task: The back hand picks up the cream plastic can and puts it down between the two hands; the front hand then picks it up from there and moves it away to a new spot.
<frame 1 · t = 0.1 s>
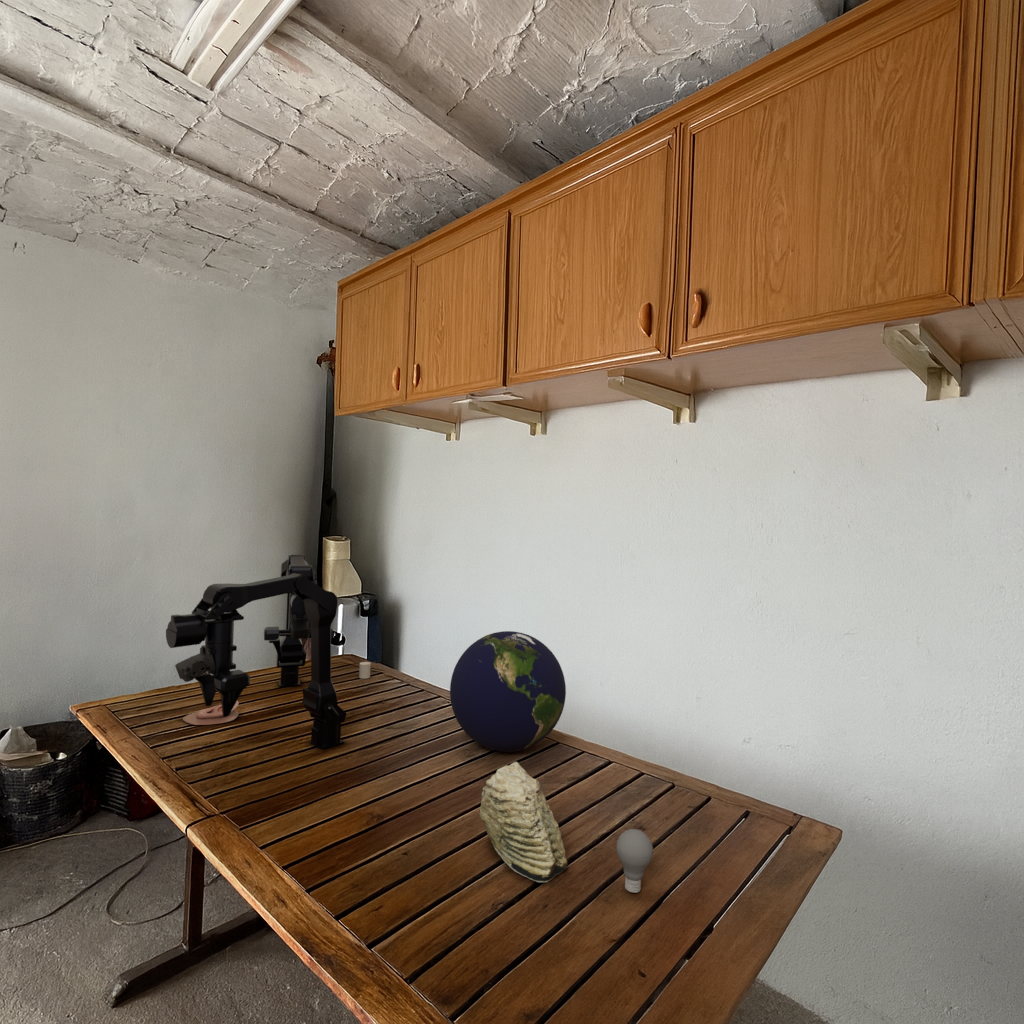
front hand: (216, 711, 141), 15 cm above the table, tool pointing down, fingers open, 9 cm apart
back hand: (297, 661, 184), 15 cm above the table, tool pointing down, fingers open, 9 cm apart
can: (364, 677, 222), on the table
anatomical model: (210, 719, 176), on the table
fossil: (519, 856, 115), on the table
globe: (505, 748, 164), on the table
light bulb: (632, 891, 106), on the table
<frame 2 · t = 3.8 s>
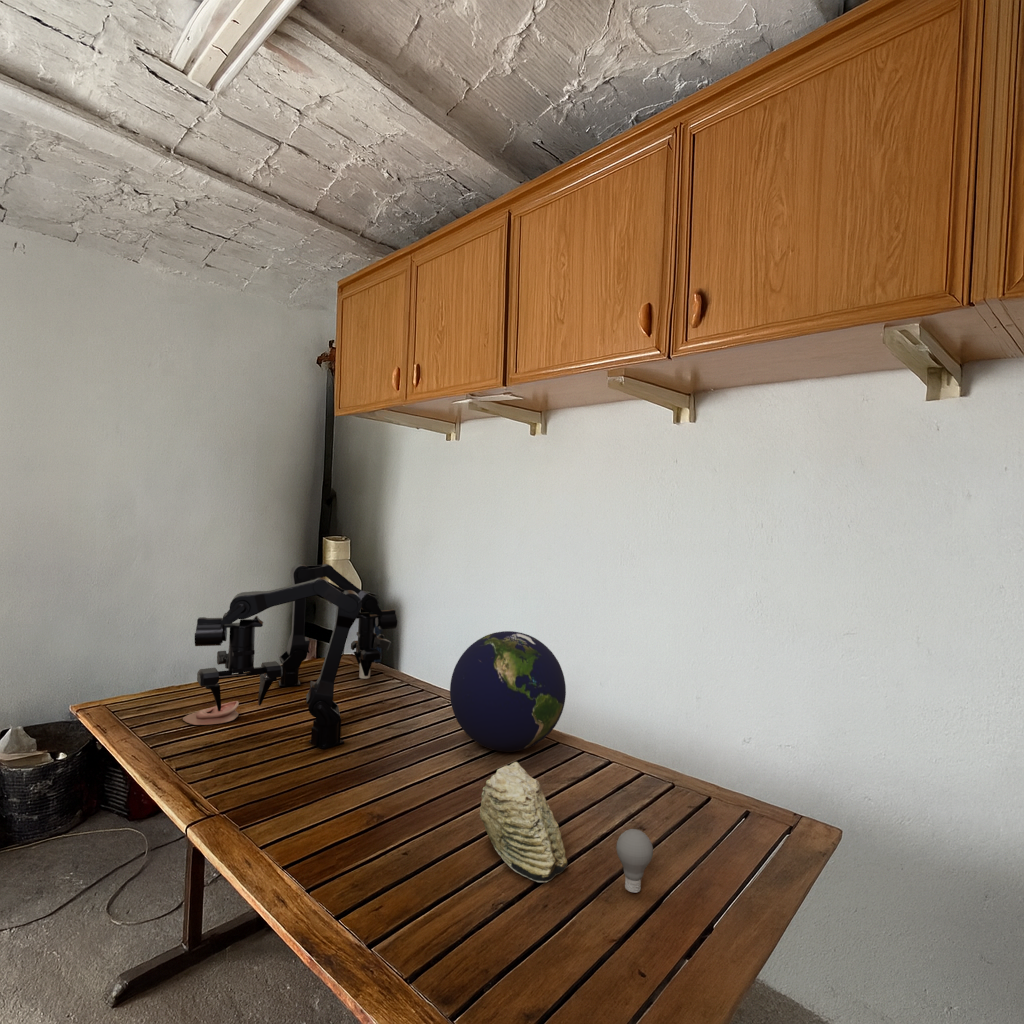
front hand: (239, 707, 155), 11 cm above the table, tool pointing down, fingers open, 9 cm apart
back hand: (364, 674, 222), 1 cm above the table, tool pointing down, fingers closed on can, 4 cm apart
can: (364, 677, 222), on the table, touching back hand
everything else where it was.
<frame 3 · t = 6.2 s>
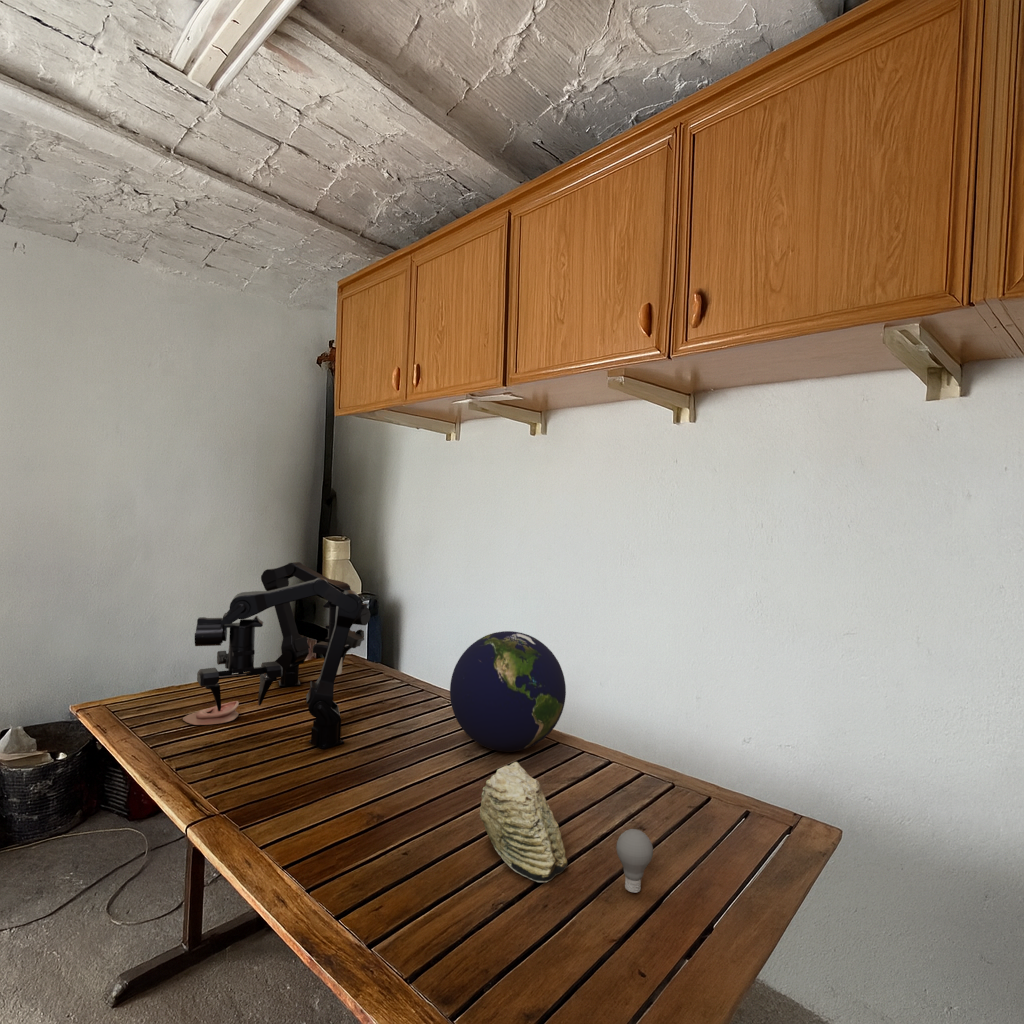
front hand: (239, 707, 155), 11 cm above the table, tool pointing down, fingers open, 9 cm apart
back hand: (335, 670, 205), 7 cm above the table, tool pointing down, fingers closed on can, 4 cm apart
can: (335, 673, 205), point 6 cm above the table, touching back hand
everything else where it was.
when the back hand's fingers open (2 cm above the table, at t = 8.7 s): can stays where it is, on the table.
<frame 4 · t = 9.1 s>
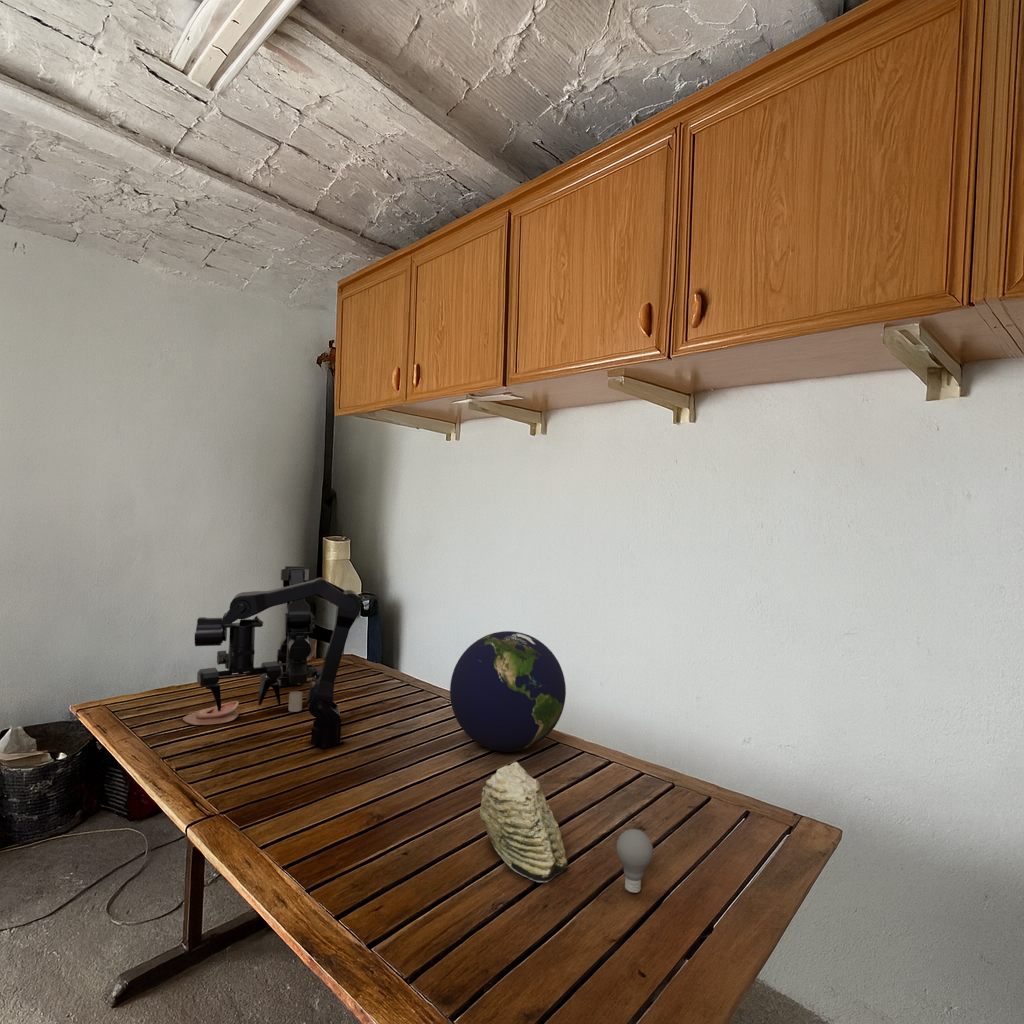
front hand: (239, 707, 155), 11 cm above the table, tool pointing down, fingers open, 9 cm apart
back hand: (295, 704, 186), 2 cm above the table, tool pointing down, fingers open, 8 cm apart
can: (295, 709, 186), on the table
everything else where it was.
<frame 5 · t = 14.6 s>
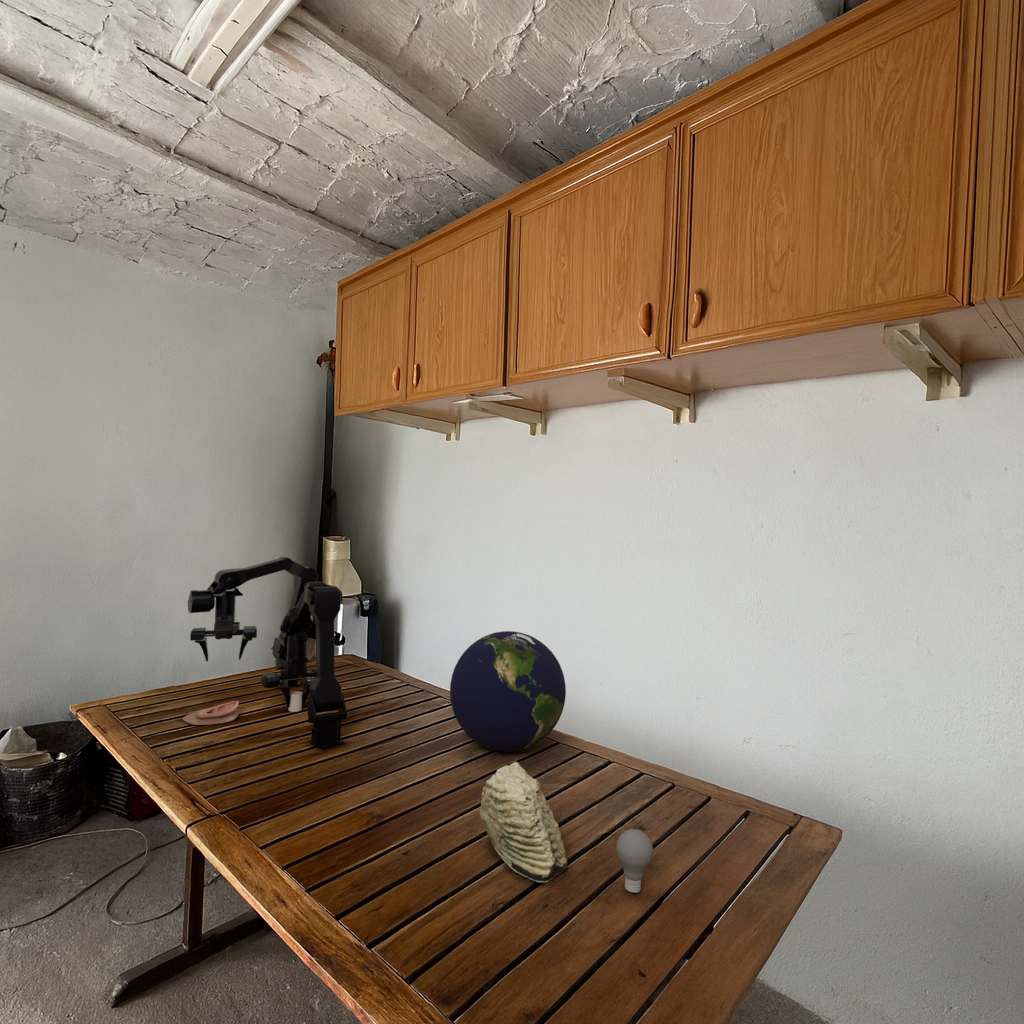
front hand: (295, 706, 186), 1 cm above the table, tool pointing down, fingers closed on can, 4 cm apart
back hand: (223, 660, 197), 10 cm above the table, tool pointing down, fingers open, 9 cm apart
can: (295, 709, 186), on the table, touching front hand
everything else where it was.
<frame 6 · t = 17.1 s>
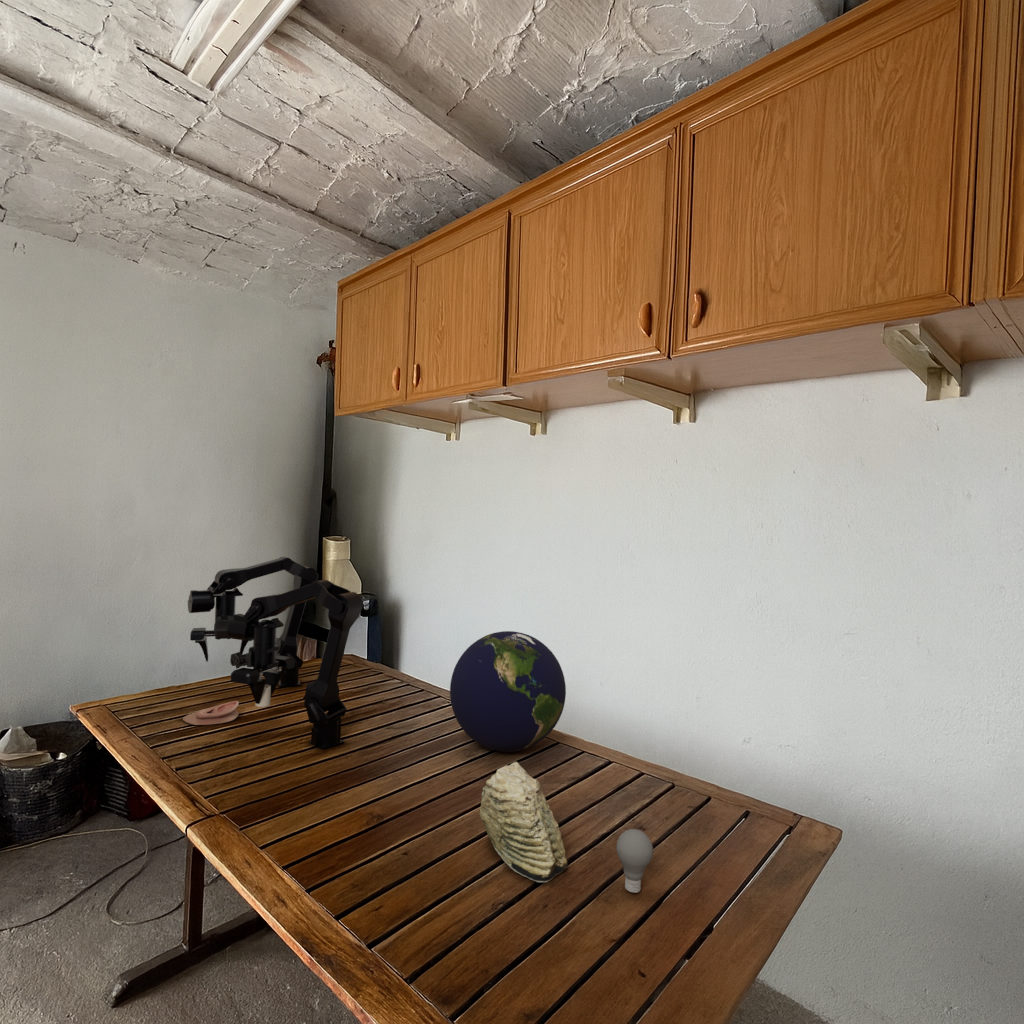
front hand: (263, 701, 169), 8 cm above the table, tool pointing down, fingers closed on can, 4 cm apart
back hand: (223, 660, 197), 10 cm above the table, tool pointing down, fingers open, 9 cm apart
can: (262, 704, 169), point 7 cm above the table, touching front hand
everything else where it was.
when the front hand's fingers open (2 cm above the table, at t = 19.7 s): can stays where it is, on the table.
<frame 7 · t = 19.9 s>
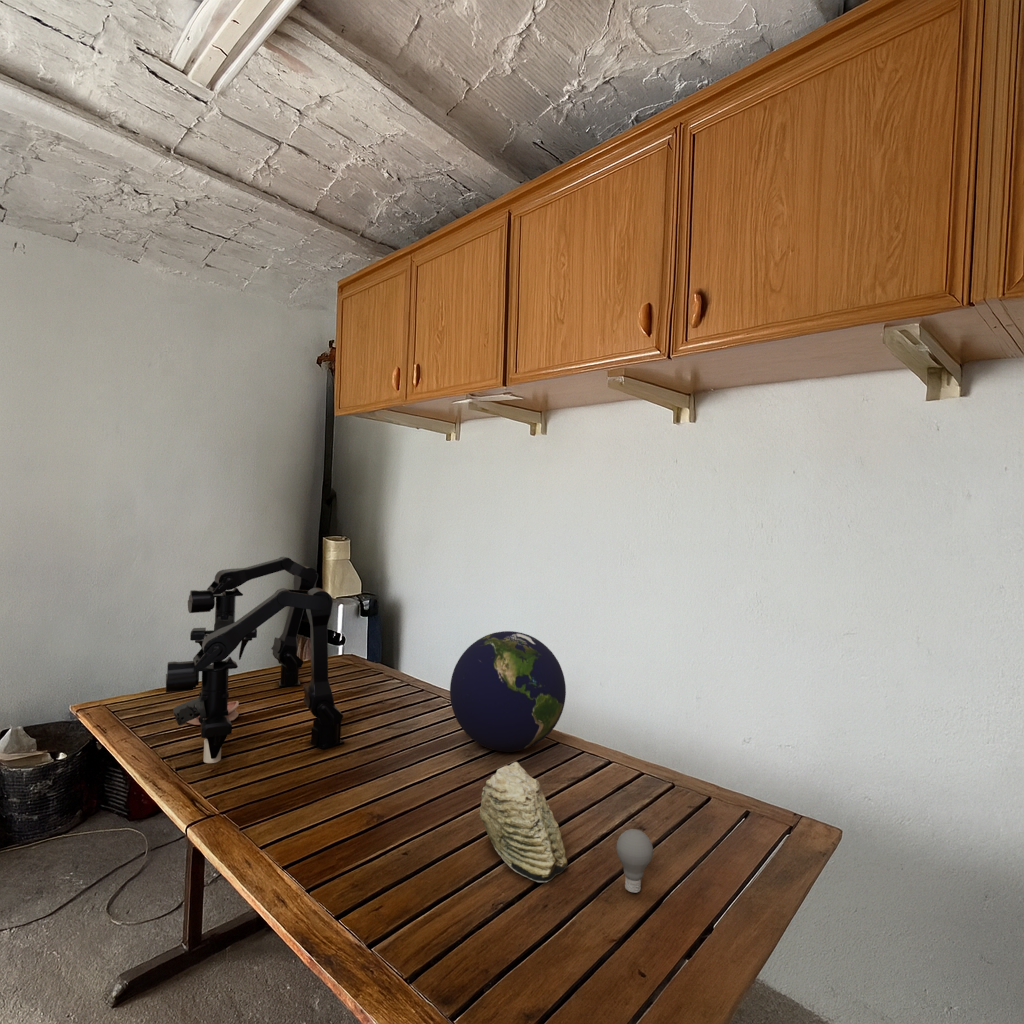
front hand: (212, 753, 149), 2 cm above the table, tool pointing down, fingers open, 6 cm apart
back hand: (223, 660, 197), 10 cm above the table, tool pointing down, fingers open, 9 cm apart
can: (212, 760, 149), on the table
everything else where it was.
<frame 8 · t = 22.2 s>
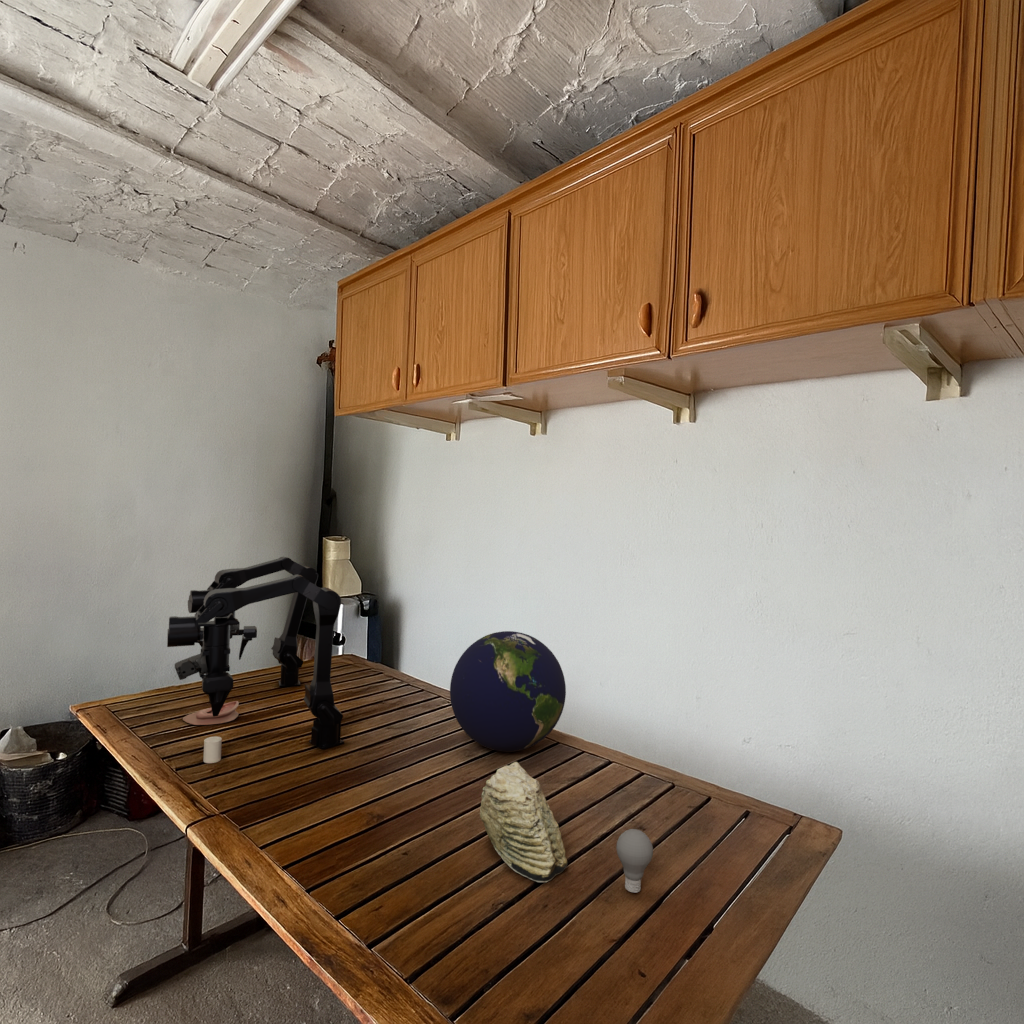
front hand: (213, 709, 149), 12 cm above the table, tool pointing down, fingers open, 9 cm apart
back hand: (223, 660, 197), 10 cm above the table, tool pointing down, fingers open, 9 cm apart
nothing on the table moved.
at the end: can inside the target area (0.0 cm from its centre), on the table; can tilted 0°; the two hands never held the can at the same time; the front hand is holding nothing; the back hand is holding nothing; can at rest at the end (0.0 cm/s) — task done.
